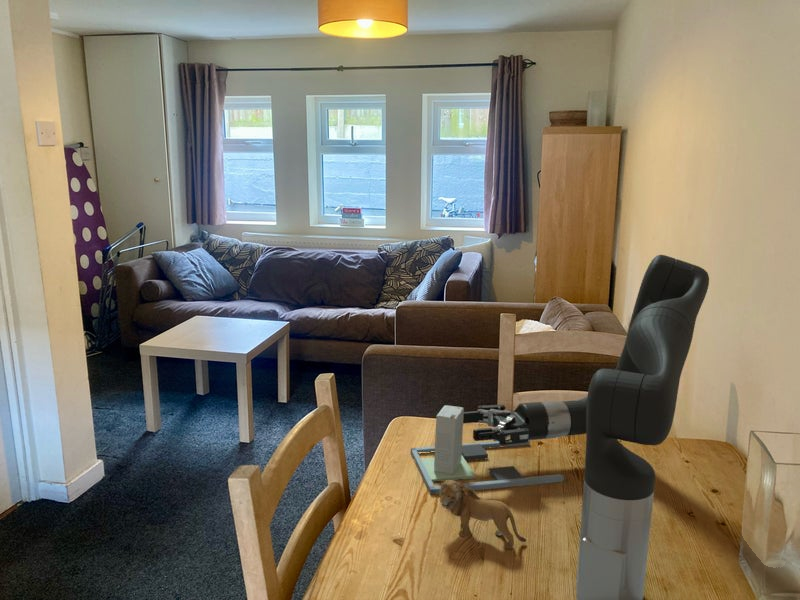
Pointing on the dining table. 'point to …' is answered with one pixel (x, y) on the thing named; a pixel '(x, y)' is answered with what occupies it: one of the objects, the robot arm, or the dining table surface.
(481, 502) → the lion figurine
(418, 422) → the dining table surface
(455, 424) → the skincare box
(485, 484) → the lane rails
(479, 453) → the grey slab
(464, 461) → the pad
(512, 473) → the grey square block
